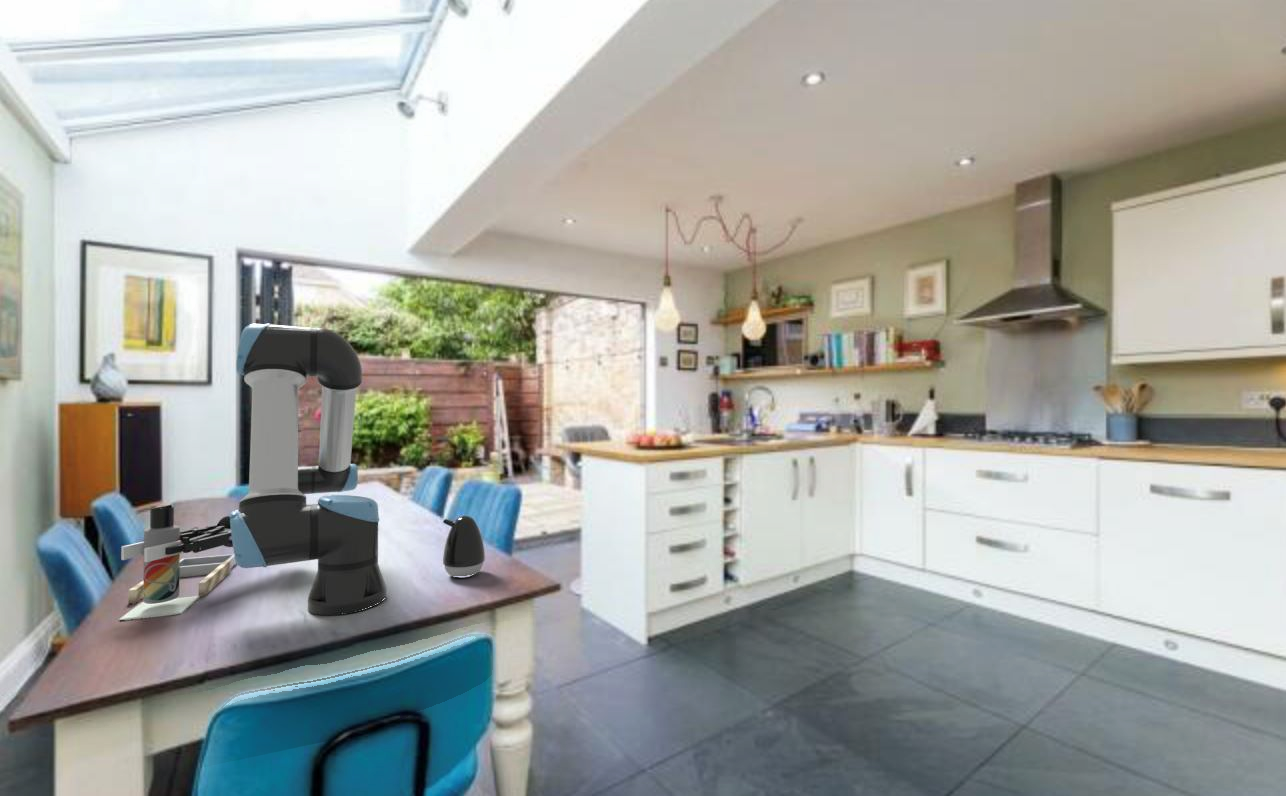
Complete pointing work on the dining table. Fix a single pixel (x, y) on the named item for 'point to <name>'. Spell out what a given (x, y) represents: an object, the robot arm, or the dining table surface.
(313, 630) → the dining table surface
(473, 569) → the pump dispenser
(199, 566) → the pit bin
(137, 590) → the oak channel
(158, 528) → the lotion bottle
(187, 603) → the pad
